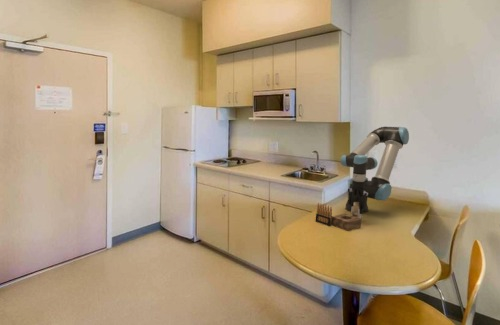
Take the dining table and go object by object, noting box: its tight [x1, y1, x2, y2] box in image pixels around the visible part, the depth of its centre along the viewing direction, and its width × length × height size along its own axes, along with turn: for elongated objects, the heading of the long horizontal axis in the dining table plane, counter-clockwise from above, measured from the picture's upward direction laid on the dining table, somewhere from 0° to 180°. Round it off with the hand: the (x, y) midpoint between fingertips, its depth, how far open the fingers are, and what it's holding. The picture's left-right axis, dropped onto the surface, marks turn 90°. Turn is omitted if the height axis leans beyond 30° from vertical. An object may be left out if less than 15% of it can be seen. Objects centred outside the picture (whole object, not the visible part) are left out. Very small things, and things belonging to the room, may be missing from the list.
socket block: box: [332, 213, 362, 232], centre depth 169 cm, size 12×12×5 cm
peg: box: [353, 202, 359, 218], centre depth 176 cm, size 4×4×12 cm
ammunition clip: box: [315, 202, 333, 227], centre depth 171 cm, size 11×2×12 cm, turn 41°
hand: (356, 217), depth 177 cm, fingers open, 4 cm apart
